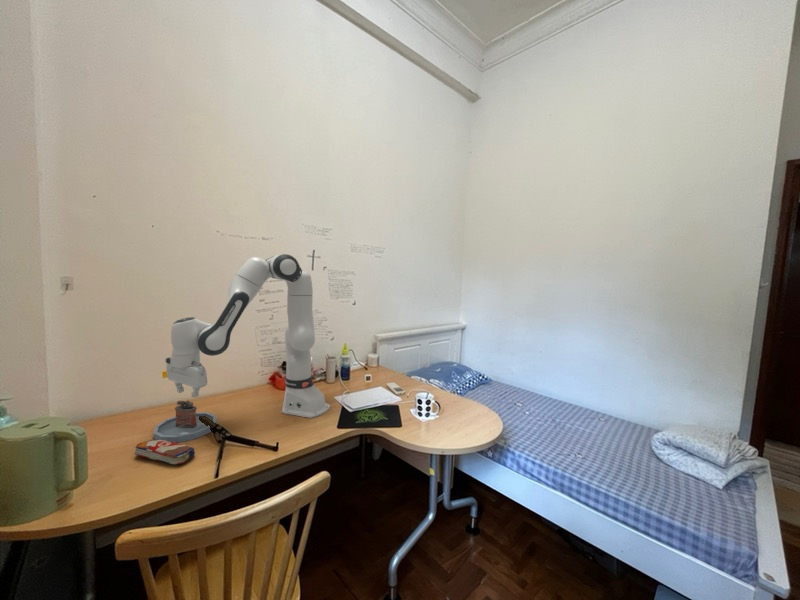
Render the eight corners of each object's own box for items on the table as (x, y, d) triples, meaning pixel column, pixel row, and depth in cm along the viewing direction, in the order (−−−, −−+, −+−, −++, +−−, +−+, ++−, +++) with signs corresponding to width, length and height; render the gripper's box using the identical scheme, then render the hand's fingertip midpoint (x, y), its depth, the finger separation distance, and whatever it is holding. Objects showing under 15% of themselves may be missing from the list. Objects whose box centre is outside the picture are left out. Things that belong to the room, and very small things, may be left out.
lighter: (199, 424, 121) (198, 400, 120) (192, 428, 118) (192, 403, 117) (180, 422, 122) (179, 398, 121) (173, 427, 119) (172, 402, 118)
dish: (227, 424, 125) (227, 419, 124) (173, 448, 107) (173, 442, 106) (197, 413, 133) (197, 408, 133) (142, 433, 115) (142, 428, 115)
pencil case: (168, 442, 111) (168, 428, 111) (199, 458, 102) (199, 444, 102) (130, 457, 101) (130, 442, 101) (161, 477, 92) (161, 461, 92)
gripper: (211, 361, 116) (212, 396, 117) (179, 354, 125) (181, 387, 126) (194, 366, 111) (195, 402, 112) (162, 358, 119) (164, 392, 121)
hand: (187, 394), depth 119 cm, fingers open, 8 cm apart
